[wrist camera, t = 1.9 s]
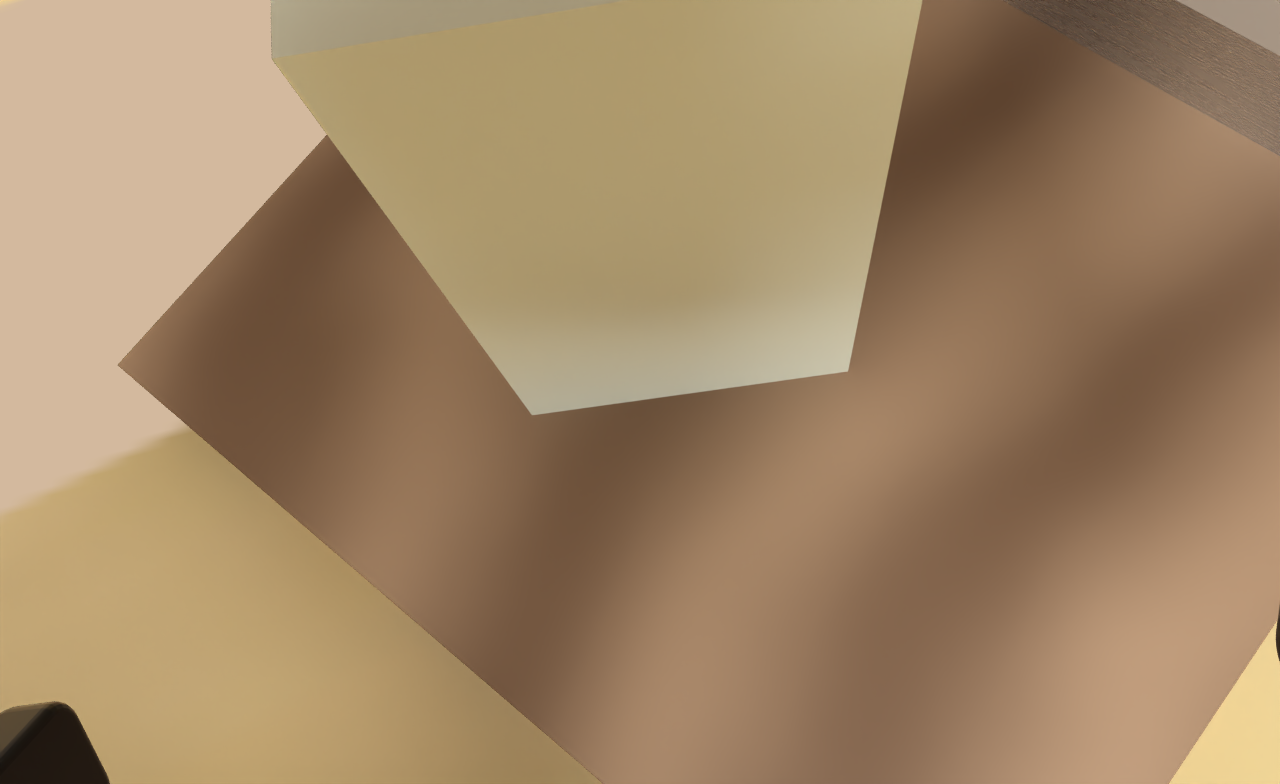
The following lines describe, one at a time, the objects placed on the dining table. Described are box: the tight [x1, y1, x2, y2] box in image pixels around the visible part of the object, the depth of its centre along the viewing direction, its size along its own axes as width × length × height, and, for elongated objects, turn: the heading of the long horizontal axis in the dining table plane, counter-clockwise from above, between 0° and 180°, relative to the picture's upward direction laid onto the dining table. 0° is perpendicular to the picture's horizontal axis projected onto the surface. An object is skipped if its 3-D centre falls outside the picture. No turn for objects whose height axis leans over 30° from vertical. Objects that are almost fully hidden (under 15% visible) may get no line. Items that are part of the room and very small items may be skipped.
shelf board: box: [118, 0, 1280, 784], centre depth 23 cm, size 20×18×2 cm
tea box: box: [271, 0, 922, 415], centre depth 17 cm, size 5×6×12 cm
